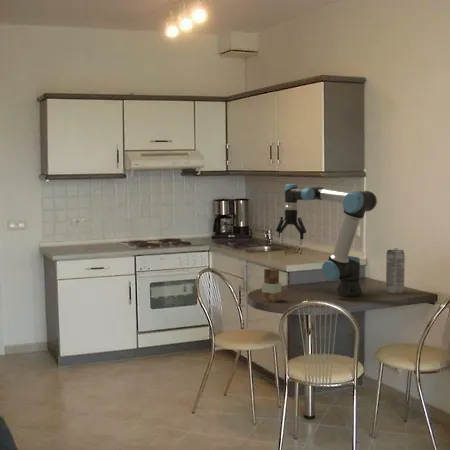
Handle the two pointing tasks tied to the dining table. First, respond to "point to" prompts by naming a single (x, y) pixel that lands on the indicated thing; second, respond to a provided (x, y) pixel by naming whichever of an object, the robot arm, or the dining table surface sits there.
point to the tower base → (271, 296)
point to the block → (271, 276)
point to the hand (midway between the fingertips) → (290, 243)
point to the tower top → (271, 288)
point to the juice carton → (395, 271)
